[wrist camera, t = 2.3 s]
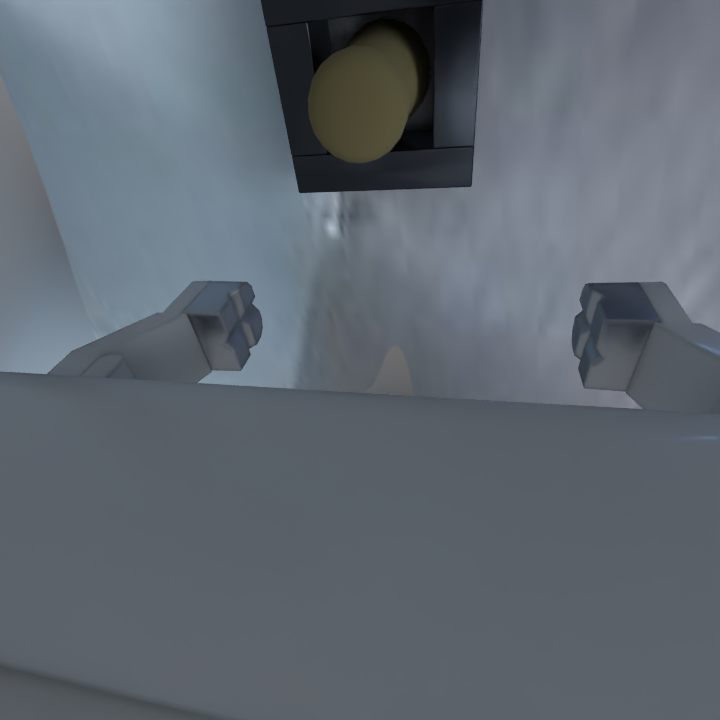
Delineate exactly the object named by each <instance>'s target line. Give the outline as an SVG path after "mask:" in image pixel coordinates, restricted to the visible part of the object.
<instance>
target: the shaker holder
mask: <svg viewBox="0 0 720 720" xmlns="http://www.w3.org/2000/svg"><path fill="white" fill-rule="evenodd" d="M261 4H262V9H263V14H264V19H265V24H266V27H267V33H268V38H269V44H270V49H271V54H272V59H273V64H274V69H275V74H276V79H277V84H278V89H279V94H280V99H281V104H282V109H283V114H284V119H285V124H286V129H287V134H288V139H289V144H290V149H291V154H292V159H293V164H294V169H295V174H296V179H297V184H298V189H299V193H312V192H339V191H367V190H394V189H422V188H449V187H471V185H472V171H473V155H474V139H475V123H476V107H477V91H478V76H479V60H480V44H481V28H482V12H483V0H261ZM428 6H434V101H433V130H422V131H406V132H403V133H402V136H401V138H400V139H399V141H398V142H397V143H396V144H395V146H394V147H393V148H392V150H391V151H389V152H388V153H386V154H385V155H383V156H382V157H380V158H379V159H377V160H373V161H369V162H365V163H351V162H346V161H344V160H342V159H339V158H337V157H335V156H333V155H332V154H331V153H330V152H329V151H328V150H326V149H325V148H324V147H323V146H322V144H321V143H320V141H319V140H318V138H317V137H316V135H315V134H314V131H313V128H312V125H311V122H310V119H309V112H308V96H309V92H310V87H311V83H312V79H313V77H314V75H315V74H316V72H317V70H318V68H319V67H320V65H321V64H322V63H323V62H324V61H325V60H326V59H327V58H328V57H330V56H331V55H332V54H331V46H330V38H329V29H328V21H327V19H333V18H341V17H349V16H357V15H365V14H373V13H381V12H389V11H397V10H404V9H412V8H420V7H428Z"/></svg>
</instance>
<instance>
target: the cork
mask: <svg viewBox="0 0 720 720" xmlns="http://www.w3.org/2000/svg"><path fill="white" fill-rule="evenodd" d="M430 72H431V68H430V62H429V55H428V51H427V49H426V47H425V45H424V43H423V41H422V39H421V37H420V36H419V35H418V34H417V33H416V32H415V31H414V30H413V29H412V28H411V27H410V25H407V24H405V23H403V22H401V21H399V20H397V19H386V18H380V19H377V20H375V21H372V22H369V23H367V24H365V25H364V26H363V27H362V28H361V29H360V30H358V31H357V32H356V33H355V34H354V35H353V37H352V39H351V41H350V42H349V44H348V46H347V47H346V48H344V49H342V50H339V51H336V52H334V53H333V54H332V55H331V56H330V57H328V58H327V59H326V60H325V61H324V62H323V63H322V64H321V65H320V67H319V68H318V70H317V72H316V74H315V75H314V77H313V79H312V83H311V87H310V92H309V96H308V112H309V119H310V122H311V125H312V128H313V131H314V134H315V135H316V137H317V138H318V140H319V141H320V143H321V144H322V146H323V147H324V148H325V149H326V150H328V151H329V152H330V153H331V154H332V155H333V156H335V157H337V158H339V159H342V160H344V161H346V162H351V163H365V162H369V161H373V160H377V159H379V158H380V157H382V156H383V155H385V154H386V153H388V152H389V151H391V150H392V148H393V147H394V146H395V144H396V143H397V142H398V141H399V139H400V138H401V136H402V133H403V130H404V128H405V125H406V122H407V120H408V117H409V116H411V115H412V114H413V113H414V112H415V111H416V110H417V108H418V107H419V106H420V104H421V103H422V102H423V100H424V97H425V95H426V92H427V90H428V87H429V81H430Z"/></svg>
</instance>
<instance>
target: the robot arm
mask: <svg viewBox="0 0 720 720" xmlns="http://www.w3.org/2000/svg"><path fill="white" fill-rule="evenodd" d="M254 298H255V295H254V292H253V289H252V286H251V285H250V284H249V283H248V282H232V281H194V282H191V284H190V285H189V286H188V287H187V288H186V289H185V290H184V291H183V292H182V293H181V294H180V295H179V296H178V297H177V298H176V299H175V300H174V301H173V303H172V304H171V305H170V306H169V307H168V308H167V309H166V310H165V311H164V312H163V313H156V314H153V315H151V316H149V317H147V318H145V319H142V320H140V321H138V322H136V323H133V324H131V325H129V326H127V327H125V328H122V329H120V330H118V331H116V332H113V333H111V334H109V335H107V336H104V337H102V338H100V339H98V340H96V341H94V342H91V343H89V344H87V345H85V346H82V347H80V348H78V349H76V350H73V351H71V352H70V353H69V354H68V355H67V356H66V357H65V358H64V359H63V360H62V361H60V362H59V363H58V364H57V365H56V366H55V367H54V368H53V369H52V370H51V371H50V372H49V373H48V374H32V373H16V372H15V373H14V372H0V720H720V333H719V332H717V331H715V330H713V329H711V328H709V327H707V326H705V325H703V324H694V323H692V322H691V320H690V319H689V317H688V316H687V314H686V313H685V311H684V310H683V308H682V307H681V305H680V304H679V302H678V301H677V299H676V298H675V296H674V295H673V294H672V292H671V291H670V289H669V288H668V286H667V285H666V284H665V283H663V282H627V283H588V284H585V286H584V288H583V290H582V293H581V297H580V303H581V306H582V309H583V310H582V311H581V312H580V313H579V314H578V315H577V316H575V320H574V325H573V330H572V347H573V352H574V355H575V356H576V357H577V358H579V359H580V364H579V367H578V370H579V373H580V376H581V380H582V383H583V386H584V388H586V389H599V390H613V391H626V394H627V395H629V396H630V397H631V398H632V399H633V400H634V401H635V402H636V403H638V404H639V405H640V406H641V407H642V408H643V409H628V408H611V407H594V406H577V405H560V404H543V403H526V402H509V401H491V400H474V399H457V398H440V397H423V396H406V395H405V396H404V395H389V394H371V393H355V392H338V391H321V390H304V389H287V388H270V387H253V386H236V385H219V384H202V383H197V382H199V381H200V380H201V379H203V378H204V377H205V376H207V375H208V374H209V373H211V372H212V371H211V370H224V371H241V370H242V368H243V367H244V365H245V363H246V362H247V360H248V358H249V357H250V355H251V354H250V351H249V349H250V348H251V347H253V346H255V345H256V344H257V343H258V341H259V339H260V338H261V333H262V328H263V326H262V318H261V314H260V311H259V310H258V309H257V308H256V307H255V306H254V305H253V304H252V302H253V300H254Z"/></svg>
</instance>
